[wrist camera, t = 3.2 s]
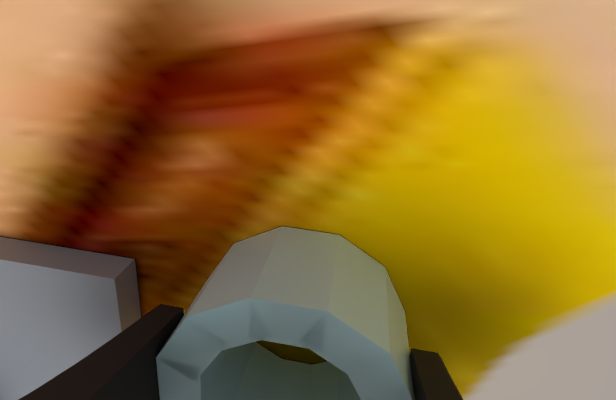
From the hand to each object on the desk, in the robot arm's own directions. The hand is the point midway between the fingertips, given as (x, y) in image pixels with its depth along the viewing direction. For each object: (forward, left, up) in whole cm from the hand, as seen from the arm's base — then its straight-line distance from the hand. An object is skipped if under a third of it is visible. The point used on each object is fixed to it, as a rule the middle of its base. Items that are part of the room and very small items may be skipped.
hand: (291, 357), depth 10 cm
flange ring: (0, 0, -2) cm, 2 cm away
